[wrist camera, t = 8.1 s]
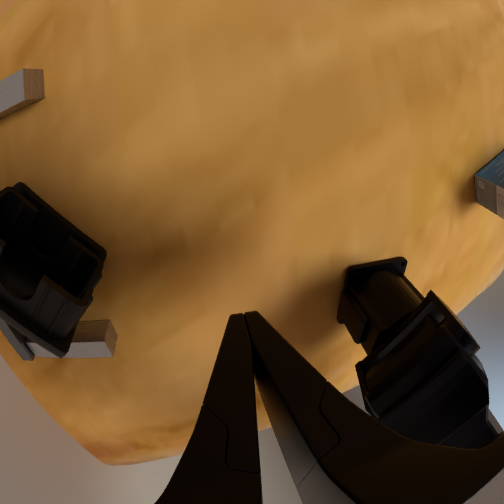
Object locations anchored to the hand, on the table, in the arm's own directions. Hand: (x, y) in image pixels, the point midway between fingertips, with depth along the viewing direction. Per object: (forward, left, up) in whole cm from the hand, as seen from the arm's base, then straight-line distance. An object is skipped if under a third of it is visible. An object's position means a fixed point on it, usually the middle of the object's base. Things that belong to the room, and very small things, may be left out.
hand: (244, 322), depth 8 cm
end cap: (+14, +2, -11) cm, 18 cm away
